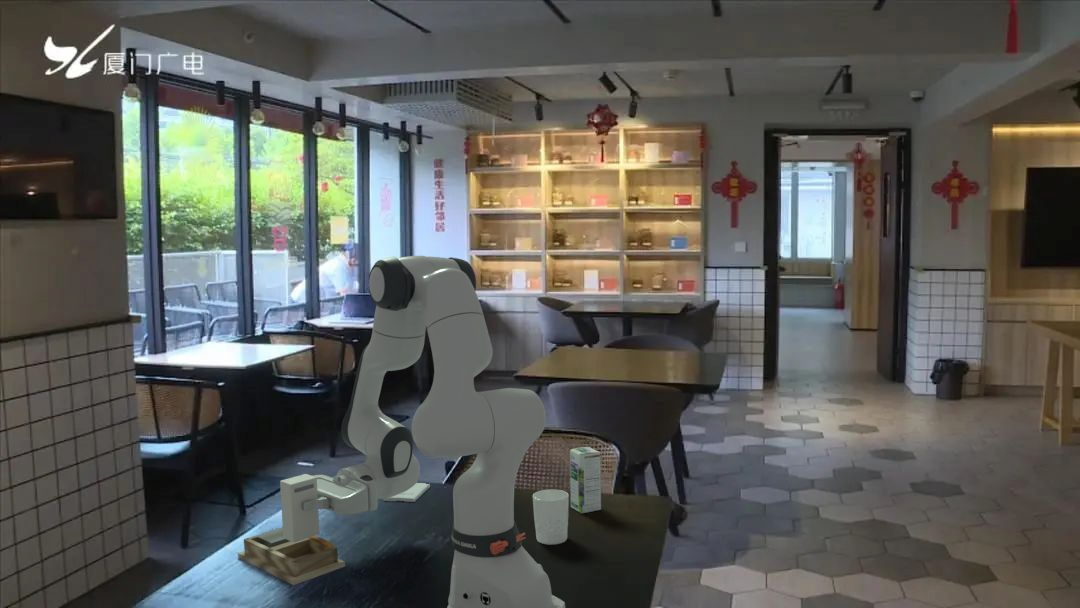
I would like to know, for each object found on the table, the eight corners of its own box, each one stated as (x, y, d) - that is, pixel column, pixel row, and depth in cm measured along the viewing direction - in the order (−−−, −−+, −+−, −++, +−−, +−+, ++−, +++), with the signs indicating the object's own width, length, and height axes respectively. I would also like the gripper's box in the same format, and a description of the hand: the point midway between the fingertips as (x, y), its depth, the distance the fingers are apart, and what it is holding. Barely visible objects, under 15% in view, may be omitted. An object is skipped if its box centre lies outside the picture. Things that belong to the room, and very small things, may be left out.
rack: (345, 566, 178) (344, 544, 177) (293, 585, 169) (291, 562, 169) (288, 541, 193) (287, 521, 192) (238, 557, 184) (236, 536, 184)
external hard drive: (430, 489, 230) (414, 504, 218) (401, 488, 232) (383, 502, 219) (430, 483, 230) (414, 498, 218) (400, 482, 231) (383, 496, 219)
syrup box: (569, 507, 210) (568, 449, 209) (591, 503, 213) (589, 445, 211) (580, 514, 205) (579, 454, 204) (602, 510, 208) (601, 451, 206)
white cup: (527, 542, 188) (526, 498, 187) (544, 530, 195) (542, 487, 194) (559, 548, 184) (558, 502, 183) (575, 535, 191) (574, 491, 190)
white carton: (319, 534, 178) (316, 477, 177) (293, 542, 174) (290, 484, 172) (308, 529, 181) (305, 473, 180) (283, 537, 176) (279, 480, 175)
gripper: (325, 464, 193) (268, 479, 183) (380, 482, 179) (322, 499, 169) (326, 491, 193) (270, 507, 183) (381, 511, 179) (324, 530, 169)
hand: (295, 503), depth 176 cm, fingers closed on white carton, 4 cm apart
